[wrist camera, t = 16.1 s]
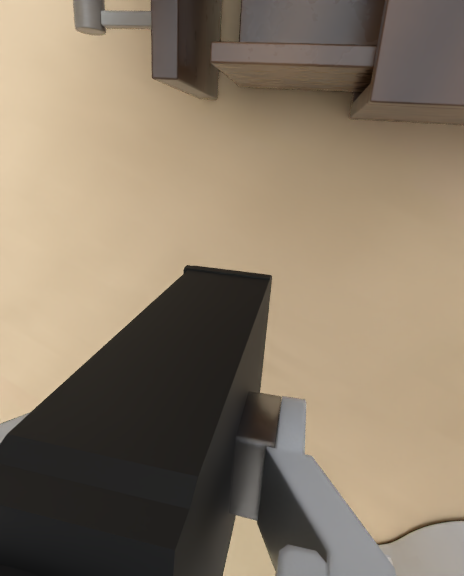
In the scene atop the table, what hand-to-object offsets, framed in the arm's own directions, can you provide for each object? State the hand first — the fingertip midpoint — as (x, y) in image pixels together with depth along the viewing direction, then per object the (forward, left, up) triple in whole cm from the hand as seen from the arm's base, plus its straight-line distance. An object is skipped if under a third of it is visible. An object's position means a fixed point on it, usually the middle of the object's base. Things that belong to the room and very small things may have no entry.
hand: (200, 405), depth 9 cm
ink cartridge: (0, 0, -3) cm, 3 cm away
